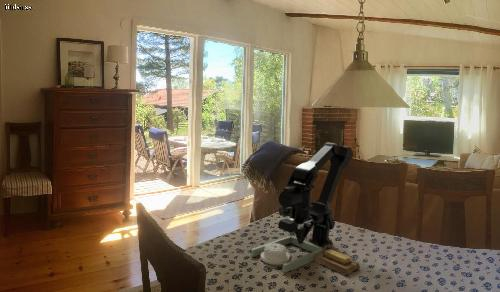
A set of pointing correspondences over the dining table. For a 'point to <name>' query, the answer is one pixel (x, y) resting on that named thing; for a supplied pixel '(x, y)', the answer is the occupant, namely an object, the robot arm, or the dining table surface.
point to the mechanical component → (274, 254)
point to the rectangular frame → (337, 264)
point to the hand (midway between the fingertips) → (300, 243)
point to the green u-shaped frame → (298, 261)
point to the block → (337, 257)
